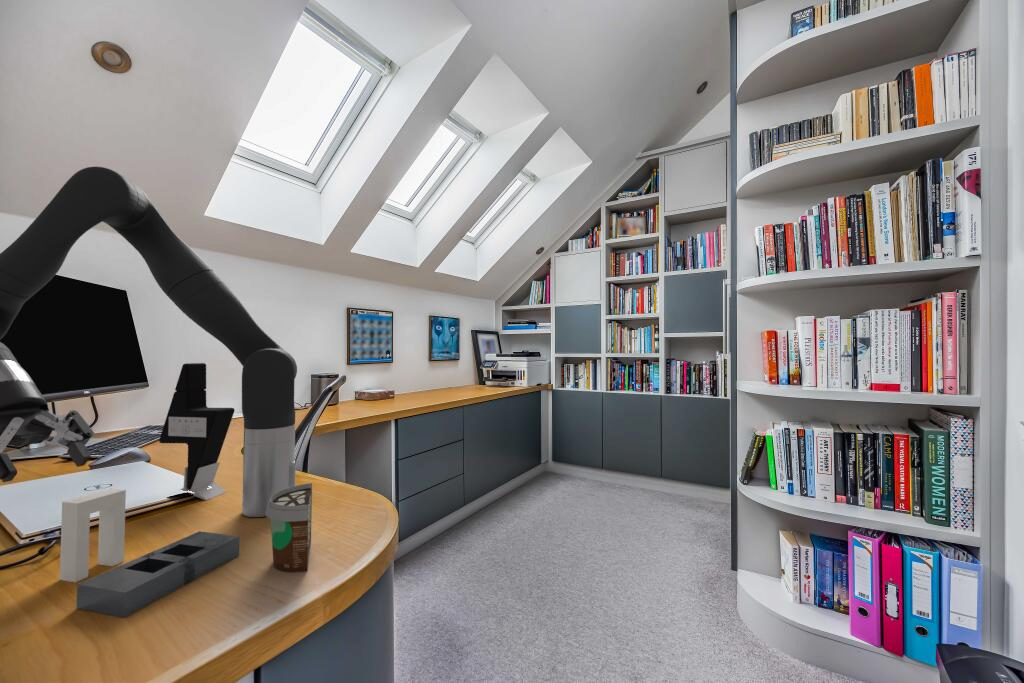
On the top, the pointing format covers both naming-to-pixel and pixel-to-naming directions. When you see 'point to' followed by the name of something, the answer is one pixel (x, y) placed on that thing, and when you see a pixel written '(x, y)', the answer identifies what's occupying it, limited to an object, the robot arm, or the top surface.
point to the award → (197, 430)
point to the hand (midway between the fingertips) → (50, 470)
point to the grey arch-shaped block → (78, 530)
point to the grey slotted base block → (155, 574)
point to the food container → (291, 527)
